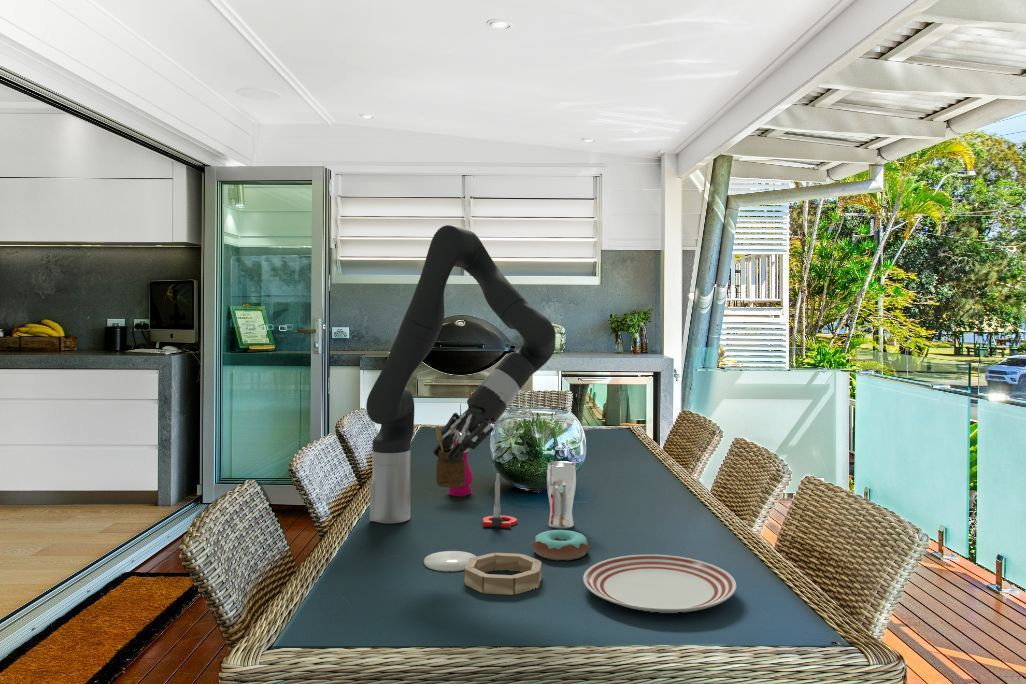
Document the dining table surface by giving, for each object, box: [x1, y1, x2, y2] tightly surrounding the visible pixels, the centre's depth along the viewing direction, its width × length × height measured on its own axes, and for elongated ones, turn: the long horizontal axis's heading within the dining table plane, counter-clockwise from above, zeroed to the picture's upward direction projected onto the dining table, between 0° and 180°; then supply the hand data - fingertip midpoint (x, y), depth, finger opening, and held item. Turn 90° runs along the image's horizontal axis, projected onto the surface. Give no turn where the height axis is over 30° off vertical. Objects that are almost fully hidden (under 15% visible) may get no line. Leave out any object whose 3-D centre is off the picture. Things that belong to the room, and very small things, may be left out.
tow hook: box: [482, 473, 518, 529], centre depth 184 cm, size 8×13×9 cm
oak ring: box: [463, 552, 543, 596], centre depth 145 cm, size 14×14×3 cm
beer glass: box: [546, 460, 577, 530], centre depth 182 cm, size 7×7×15 cm
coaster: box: [423, 550, 478, 572], centre depth 155 cm, size 11×11×1 cm
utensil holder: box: [434, 425, 465, 489], centre depth 155 cm, size 6×6×12 cm
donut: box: [532, 529, 590, 561], centre depth 162 cm, size 12×12×4 cm
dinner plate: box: [582, 554, 737, 614], centre depth 139 cm, size 28×27×3 cm
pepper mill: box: [448, 430, 474, 497], centre depth 214 cm, size 7×7×20 cm
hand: (443, 457), depth 154 cm, fingers closed on utensil holder, 5 cm apart
